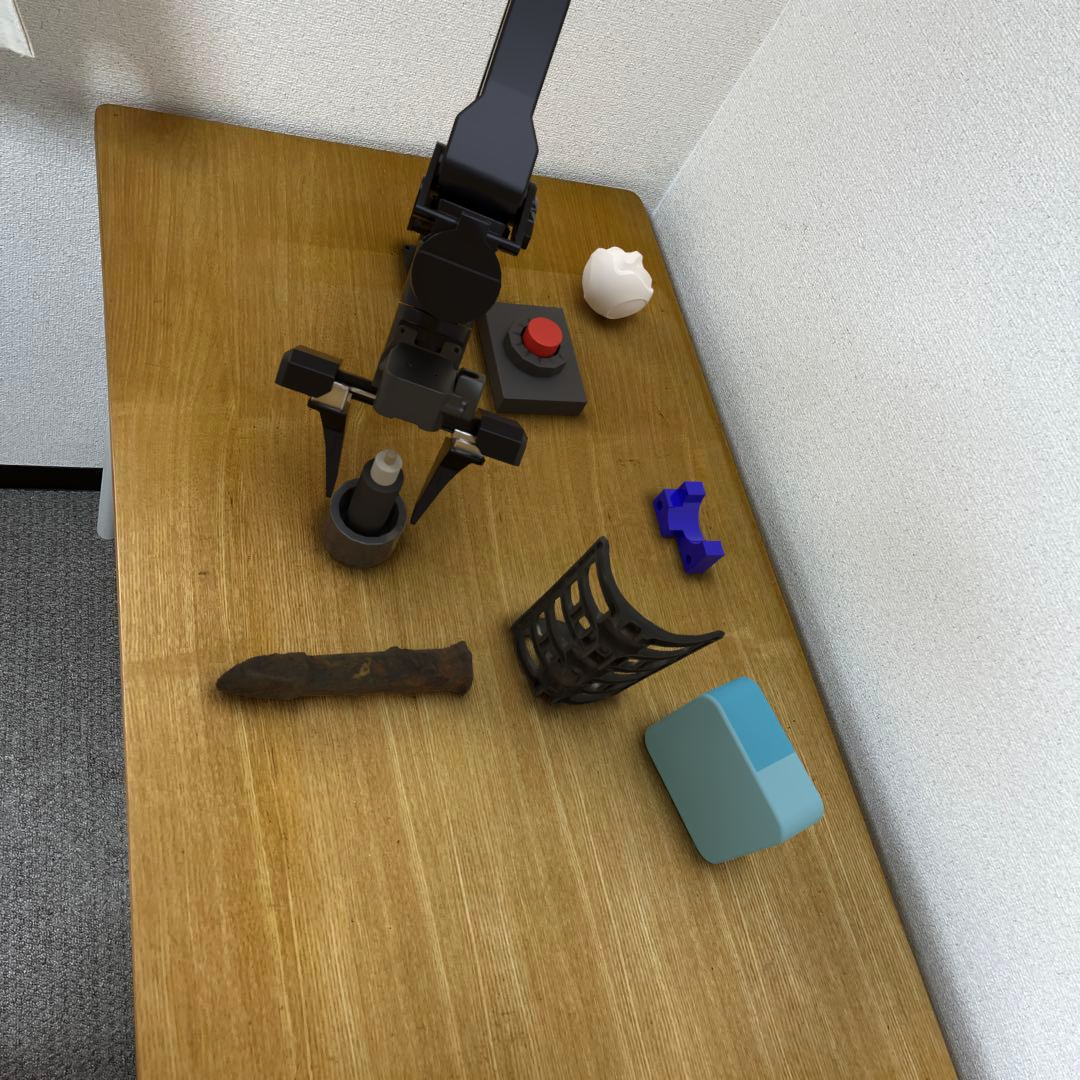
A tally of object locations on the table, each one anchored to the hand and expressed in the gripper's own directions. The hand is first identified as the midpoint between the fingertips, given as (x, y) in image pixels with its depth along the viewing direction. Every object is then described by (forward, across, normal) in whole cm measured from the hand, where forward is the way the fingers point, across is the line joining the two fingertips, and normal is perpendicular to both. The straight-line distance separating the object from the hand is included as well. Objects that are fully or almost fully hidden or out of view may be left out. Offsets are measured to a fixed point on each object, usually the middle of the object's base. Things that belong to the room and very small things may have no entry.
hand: (370, 510), depth 70 cm
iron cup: (+4, 0, +6) cm, 7 cm away
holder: (+9, +19, +1) cm, 21 cm away
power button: (-16, +11, +21) cm, 29 cm away
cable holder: (-3, +30, +14) cm, 33 cm away
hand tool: (+14, +2, -3) cm, 14 cm away
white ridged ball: (-22, +18, +32) cm, 43 cm away
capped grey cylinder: (+4, 0, +6) cm, 7 cm away
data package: (+14, +33, -4) cm, 36 cm away
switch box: (-14, +11, +24) cm, 30 cm away
